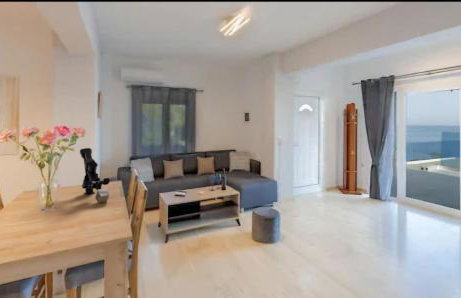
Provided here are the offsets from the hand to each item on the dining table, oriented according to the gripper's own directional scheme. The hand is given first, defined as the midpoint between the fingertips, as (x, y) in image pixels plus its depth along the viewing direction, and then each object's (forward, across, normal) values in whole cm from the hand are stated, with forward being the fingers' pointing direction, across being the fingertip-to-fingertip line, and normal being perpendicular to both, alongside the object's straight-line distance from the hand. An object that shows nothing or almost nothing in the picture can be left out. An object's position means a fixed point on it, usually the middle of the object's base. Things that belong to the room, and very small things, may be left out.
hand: (100, 192), depth 191 cm
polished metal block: (+4, 0, -4) cm, 6 cm away
